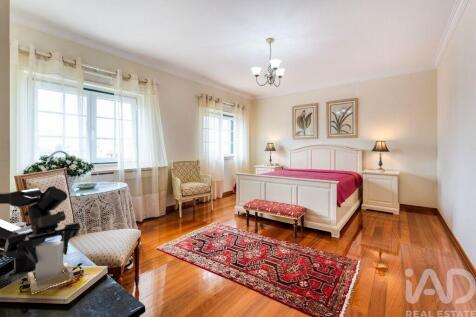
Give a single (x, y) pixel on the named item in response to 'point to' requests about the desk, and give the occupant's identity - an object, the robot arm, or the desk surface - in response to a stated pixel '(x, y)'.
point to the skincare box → (49, 260)
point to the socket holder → (49, 279)
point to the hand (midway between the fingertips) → (52, 258)
